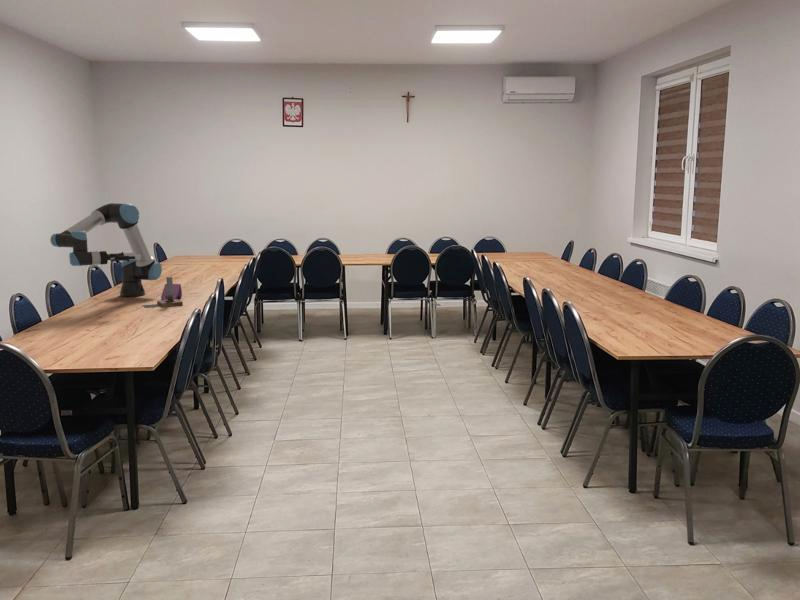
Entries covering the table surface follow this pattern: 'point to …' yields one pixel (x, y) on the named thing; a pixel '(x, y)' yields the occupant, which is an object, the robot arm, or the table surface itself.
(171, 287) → the peg
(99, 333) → the table surface
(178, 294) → the mounting bracket
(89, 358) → the table surface
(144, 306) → the mat
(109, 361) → the table surface
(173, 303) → the collar
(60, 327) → the table surface
